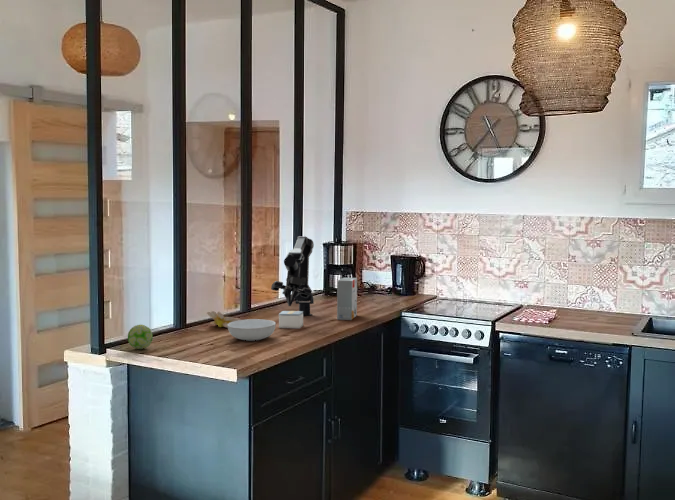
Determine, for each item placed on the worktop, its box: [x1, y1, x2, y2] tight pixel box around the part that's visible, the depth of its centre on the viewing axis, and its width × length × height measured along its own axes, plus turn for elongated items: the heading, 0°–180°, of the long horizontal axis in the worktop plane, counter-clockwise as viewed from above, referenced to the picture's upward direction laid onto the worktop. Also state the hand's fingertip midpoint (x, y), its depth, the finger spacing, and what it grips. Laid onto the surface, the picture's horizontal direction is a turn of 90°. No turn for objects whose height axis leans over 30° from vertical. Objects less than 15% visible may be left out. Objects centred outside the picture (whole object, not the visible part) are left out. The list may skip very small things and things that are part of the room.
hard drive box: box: [336, 277, 358, 321], centre depth 349 cm, size 16×8×20 cm, turn 168°
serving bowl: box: [227, 318, 277, 342], centre depth 298 cm, size 21×21×7 cm
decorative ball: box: [127, 324, 153, 350], centre depth 278 cm, size 10×10×10 cm
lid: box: [278, 310, 303, 316], centre depth 325 cm, size 8×10×1 cm
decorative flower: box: [206, 310, 240, 328], centre depth 326 cm, size 15×11×10 cm
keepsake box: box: [278, 313, 304, 329], centre depth 325 cm, size 8×10×6 cm
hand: (289, 306), depth 322 cm, fingers closed
